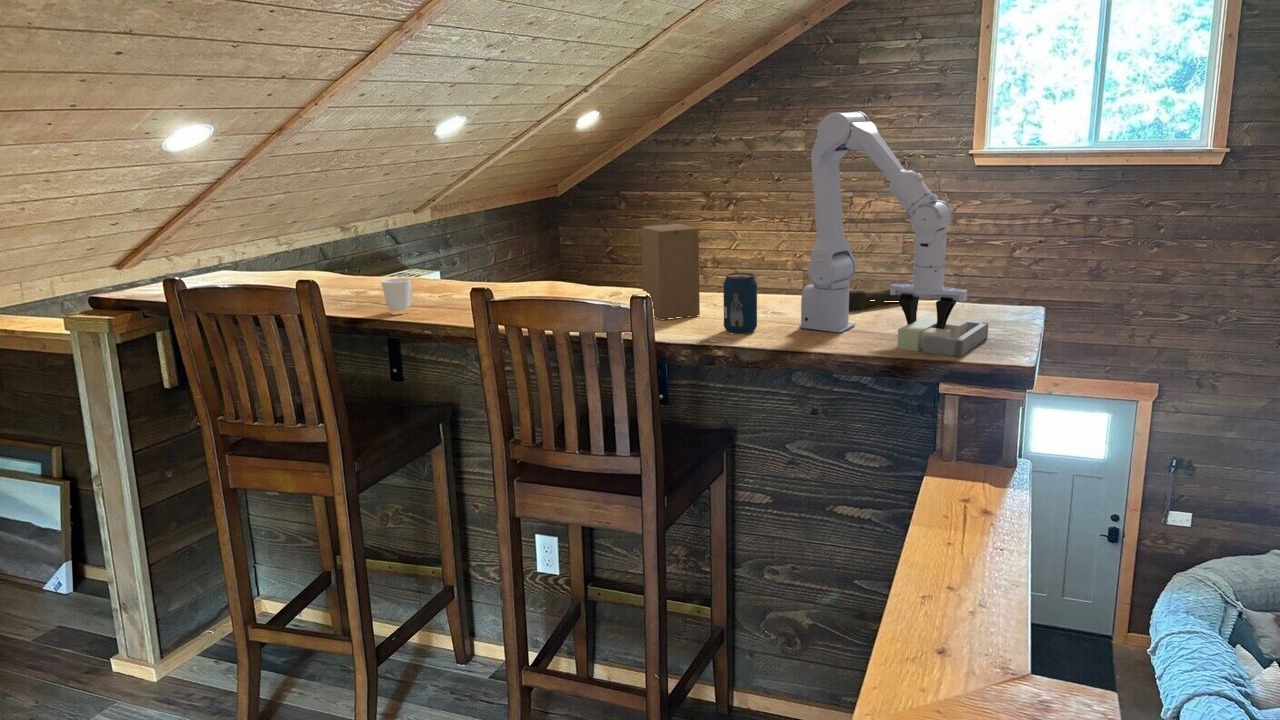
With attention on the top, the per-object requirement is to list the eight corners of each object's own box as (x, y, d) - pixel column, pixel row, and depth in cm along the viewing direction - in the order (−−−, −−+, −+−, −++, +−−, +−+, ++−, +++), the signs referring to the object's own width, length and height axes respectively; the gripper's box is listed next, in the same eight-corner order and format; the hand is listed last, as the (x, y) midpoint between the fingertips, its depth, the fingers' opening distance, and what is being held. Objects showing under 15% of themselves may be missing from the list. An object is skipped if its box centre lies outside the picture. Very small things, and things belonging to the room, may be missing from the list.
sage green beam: (897, 349, 184) (898, 329, 183) (926, 335, 195) (927, 315, 194) (917, 352, 182) (918, 331, 181) (945, 337, 192) (947, 318, 191)
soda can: (750, 326, 205) (750, 271, 202) (761, 333, 199) (761, 276, 195) (719, 329, 204) (719, 273, 201) (729, 336, 197) (729, 278, 194)
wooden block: (700, 316, 216) (699, 227, 211) (659, 321, 213) (657, 231, 208) (682, 308, 225) (680, 223, 220) (642, 313, 222) (640, 226, 217)
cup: (378, 316, 227) (374, 282, 225) (399, 307, 236) (396, 275, 234) (404, 317, 225) (401, 283, 223) (425, 308, 234) (422, 275, 232)
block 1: (921, 349, 183) (922, 331, 182) (929, 345, 186) (930, 327, 185) (941, 352, 181) (942, 334, 180) (950, 347, 184) (951, 330, 183)
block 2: (938, 340, 189) (939, 323, 188) (946, 336, 192) (947, 319, 191) (958, 343, 187) (959, 325, 186) (966, 339, 190) (967, 322, 189)
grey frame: (922, 352, 181) (923, 336, 180) (952, 333, 194) (953, 319, 193) (960, 356, 177) (961, 341, 176) (987, 337, 190) (988, 322, 189)
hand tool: (900, 302, 227) (901, 282, 226) (911, 304, 223) (912, 285, 222) (834, 311, 219) (834, 291, 218) (845, 314, 216) (845, 294, 215)
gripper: (885, 265, 186) (882, 333, 189) (960, 271, 178) (956, 342, 181) (898, 260, 191) (895, 326, 195) (972, 265, 183) (967, 334, 187)
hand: (925, 333), depth 188 cm, fingers open, 5 cm apart
